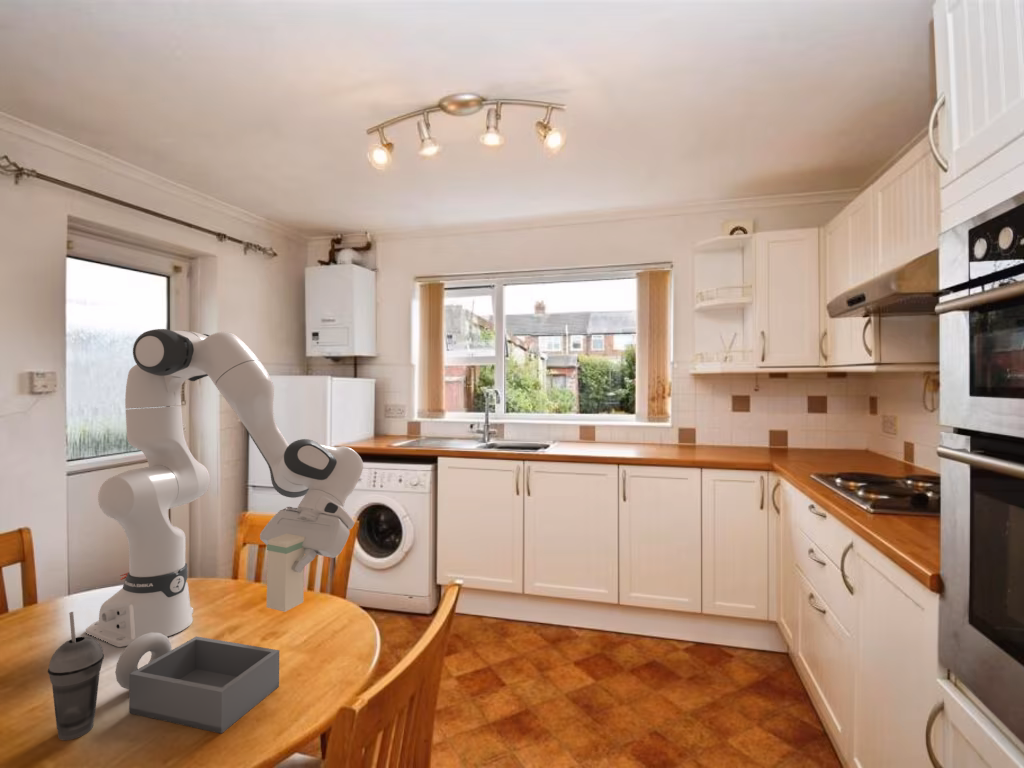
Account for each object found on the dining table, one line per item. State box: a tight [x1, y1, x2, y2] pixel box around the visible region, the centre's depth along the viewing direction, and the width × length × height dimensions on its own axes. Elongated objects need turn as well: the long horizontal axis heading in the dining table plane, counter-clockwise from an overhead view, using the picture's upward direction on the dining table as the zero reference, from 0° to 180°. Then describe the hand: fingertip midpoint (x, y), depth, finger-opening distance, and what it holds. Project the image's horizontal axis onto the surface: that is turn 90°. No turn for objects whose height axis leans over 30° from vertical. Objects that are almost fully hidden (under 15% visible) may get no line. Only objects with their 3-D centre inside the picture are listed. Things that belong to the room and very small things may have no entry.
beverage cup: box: [47, 611, 105, 741], centre depth 86 cm, size 7×7×20 cm
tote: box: [128, 636, 280, 734], centre depth 95 cm, size 20×14×7 cm
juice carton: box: [266, 534, 305, 613], centre depth 107 cm, size 5×5×14 cm
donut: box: [114, 632, 173, 690], centre depth 99 cm, size 10×4×10 cm, turn 159°
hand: (283, 568), depth 107 cm, fingers closed on juice carton, 5 cm apart
